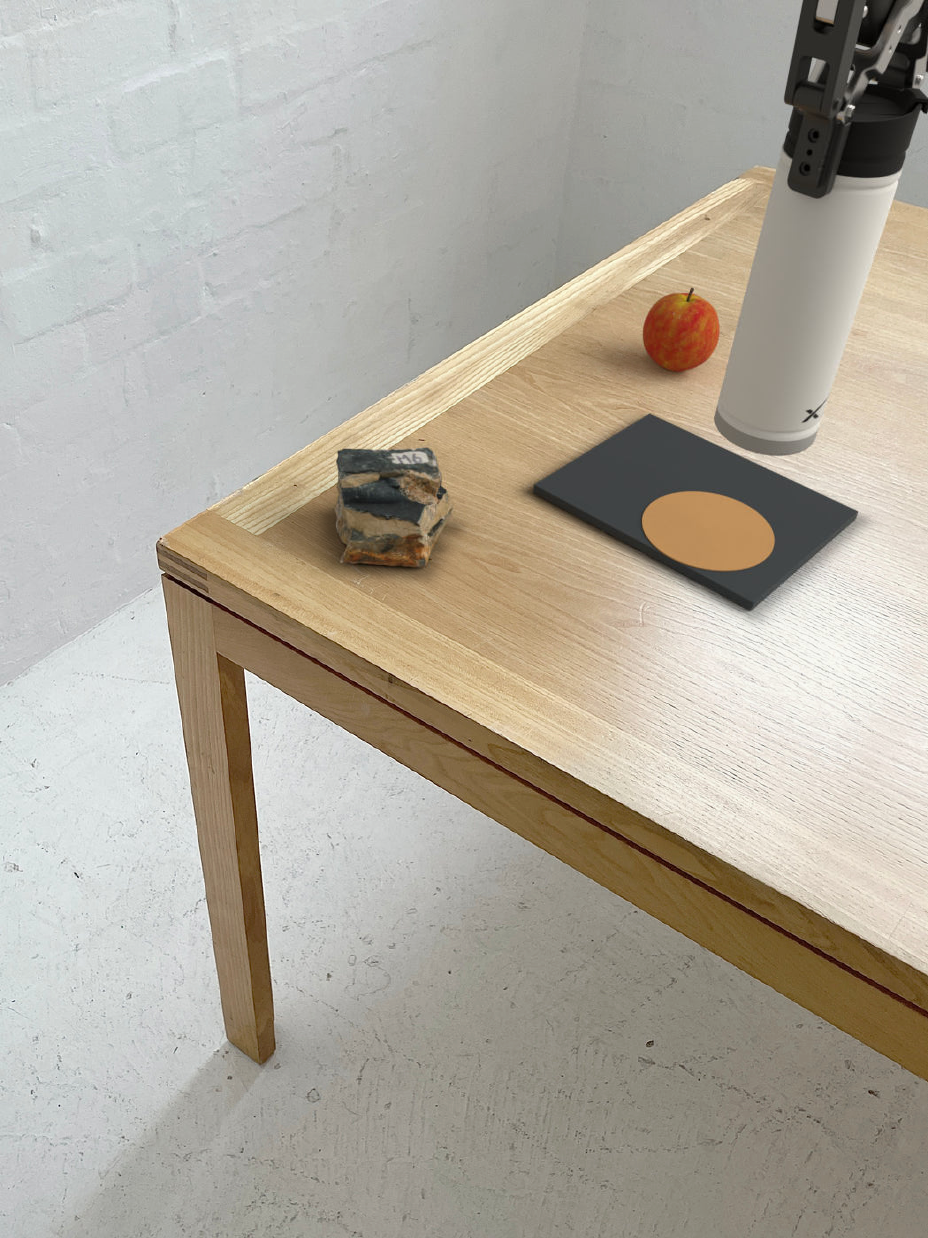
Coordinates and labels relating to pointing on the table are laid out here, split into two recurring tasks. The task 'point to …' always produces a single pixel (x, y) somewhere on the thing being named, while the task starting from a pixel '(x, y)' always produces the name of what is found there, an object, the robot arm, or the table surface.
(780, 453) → the travel mug
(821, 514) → the mat
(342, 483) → the rock
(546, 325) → the table surface
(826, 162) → the robot arm
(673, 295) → the fruit
